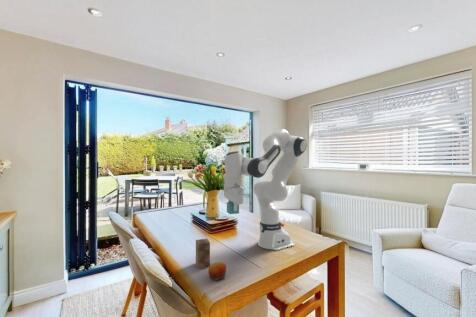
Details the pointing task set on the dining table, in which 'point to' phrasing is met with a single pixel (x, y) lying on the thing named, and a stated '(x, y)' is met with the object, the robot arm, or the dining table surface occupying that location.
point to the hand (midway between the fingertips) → (232, 209)
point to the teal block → (230, 208)
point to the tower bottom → (202, 261)
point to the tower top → (202, 247)
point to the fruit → (217, 270)
